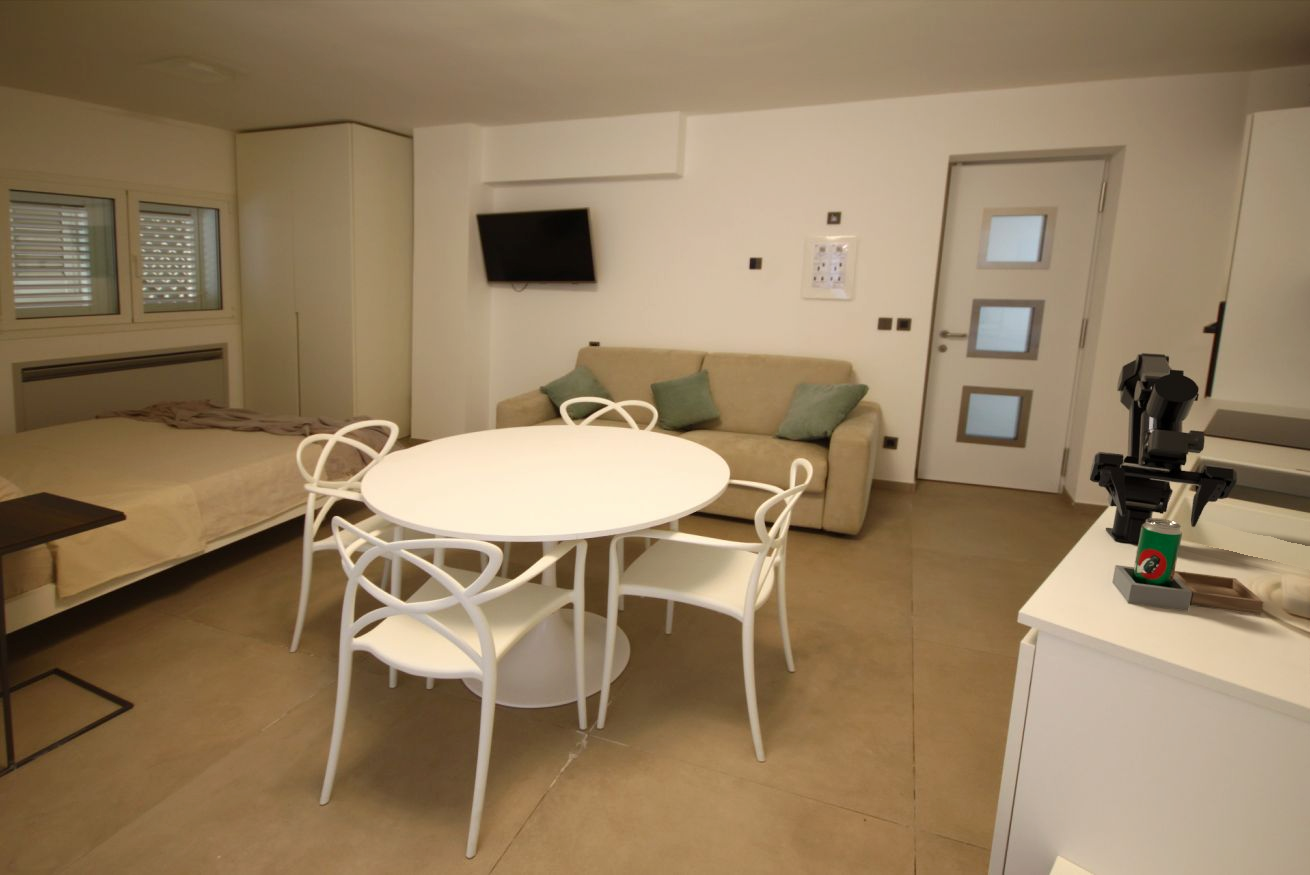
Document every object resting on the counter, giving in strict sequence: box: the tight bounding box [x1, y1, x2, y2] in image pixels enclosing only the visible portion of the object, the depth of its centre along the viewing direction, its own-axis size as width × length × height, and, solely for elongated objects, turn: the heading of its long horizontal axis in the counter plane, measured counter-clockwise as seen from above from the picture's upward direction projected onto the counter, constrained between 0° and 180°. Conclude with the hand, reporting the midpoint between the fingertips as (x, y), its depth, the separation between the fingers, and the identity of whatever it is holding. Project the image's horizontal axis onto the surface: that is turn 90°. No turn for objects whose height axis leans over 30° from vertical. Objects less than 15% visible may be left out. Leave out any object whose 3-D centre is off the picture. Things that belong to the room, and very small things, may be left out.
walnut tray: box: [1174, 570, 1265, 615], centre depth 110 cm, size 9×9×2 cm
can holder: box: [1111, 564, 1192, 612], centre depth 110 cm, size 8×8×3 cm
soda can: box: [1132, 517, 1183, 588], centre depth 108 cm, size 5×5×12 cm
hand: (1157, 520), depth 111 cm, fingers open, 9 cm apart
